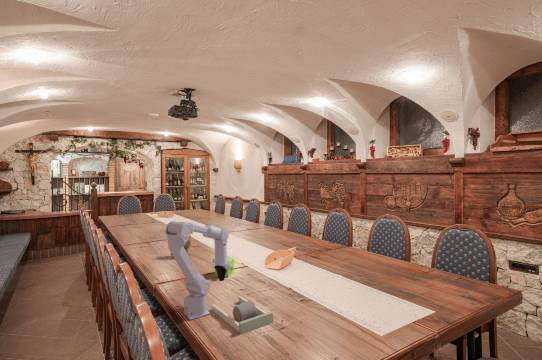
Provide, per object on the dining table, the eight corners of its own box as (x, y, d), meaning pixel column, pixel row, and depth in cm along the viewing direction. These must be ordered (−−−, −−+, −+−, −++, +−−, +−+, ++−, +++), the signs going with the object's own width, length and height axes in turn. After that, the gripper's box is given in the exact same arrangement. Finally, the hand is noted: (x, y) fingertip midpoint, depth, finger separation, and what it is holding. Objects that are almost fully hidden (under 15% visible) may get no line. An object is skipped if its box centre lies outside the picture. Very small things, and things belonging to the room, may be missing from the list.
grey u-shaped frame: (241, 334, 121) (240, 323, 121) (211, 309, 143) (211, 301, 143) (273, 322, 130) (272, 312, 130) (240, 301, 152) (240, 293, 152)
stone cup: (194, 257, 232) (193, 237, 232) (179, 260, 224) (178, 240, 224) (184, 253, 243) (183, 234, 243) (169, 256, 235) (169, 237, 235)
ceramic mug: (231, 320, 132) (231, 302, 132) (248, 314, 137) (248, 297, 137) (244, 330, 124) (243, 311, 123) (261, 324, 128) (261, 306, 128)
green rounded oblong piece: (227, 281, 181) (228, 265, 180) (211, 279, 183) (212, 263, 183) (237, 271, 199) (238, 256, 198) (223, 269, 201) (223, 255, 200)
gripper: (235, 254, 147) (236, 282, 148) (221, 248, 159) (222, 274, 160) (221, 257, 143) (222, 286, 144) (208, 250, 155) (209, 277, 155)
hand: (221, 280), depth 151 cm, fingers closed
